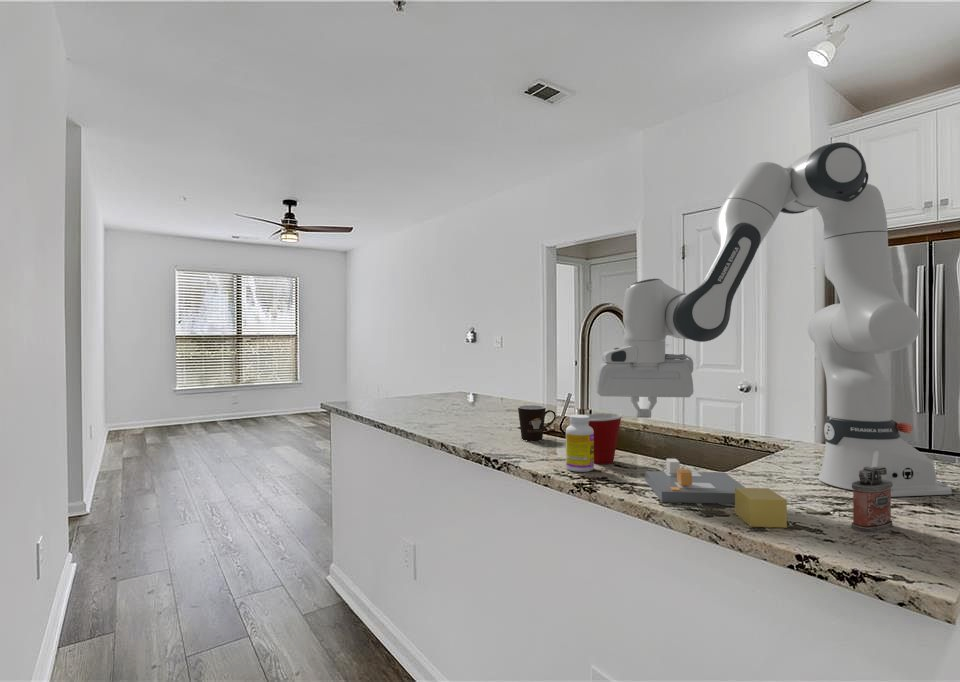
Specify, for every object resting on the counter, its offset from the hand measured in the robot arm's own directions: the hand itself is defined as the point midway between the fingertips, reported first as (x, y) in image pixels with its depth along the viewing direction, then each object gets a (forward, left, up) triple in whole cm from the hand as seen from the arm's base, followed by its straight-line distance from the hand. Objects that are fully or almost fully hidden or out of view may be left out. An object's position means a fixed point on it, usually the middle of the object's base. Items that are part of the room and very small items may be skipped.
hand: (643, 417), depth 113 cm
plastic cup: (+7, -19, -15) cm, 24 cm away
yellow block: (-15, +21, -14) cm, 30 cm away
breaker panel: (-9, +5, -14) cm, 18 cm away
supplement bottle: (+13, -11, -15) cm, 22 cm away
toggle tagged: (-6, +9, -12) cm, 16 cm away
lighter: (-32, +23, -15) cm, 42 cm away
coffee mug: (+23, -45, -15) cm, 53 cm away
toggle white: (-6, 0, -12) cm, 13 cm away
